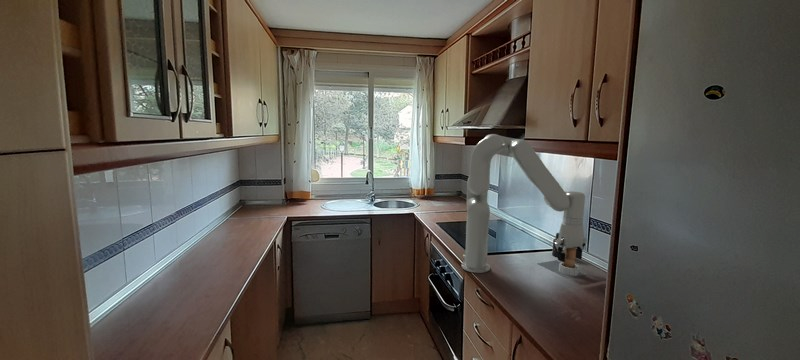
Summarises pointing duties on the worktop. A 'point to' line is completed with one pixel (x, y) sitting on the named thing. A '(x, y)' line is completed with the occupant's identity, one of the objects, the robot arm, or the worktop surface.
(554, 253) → the supplement bottle
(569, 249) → the rail post
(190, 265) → the worktop surface
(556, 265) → the bracket board
